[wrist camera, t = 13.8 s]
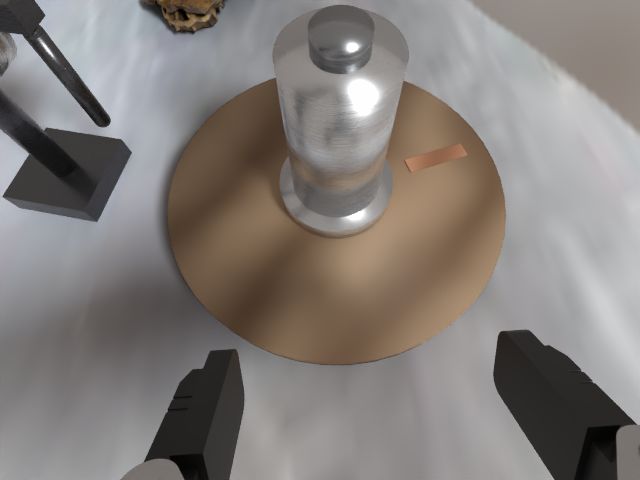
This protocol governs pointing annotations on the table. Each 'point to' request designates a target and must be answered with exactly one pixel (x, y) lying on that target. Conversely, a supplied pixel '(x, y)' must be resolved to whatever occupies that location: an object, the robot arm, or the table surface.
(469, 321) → the table surface
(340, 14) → the cover
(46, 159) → the stand
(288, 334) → the disc
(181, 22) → the decorative rock
